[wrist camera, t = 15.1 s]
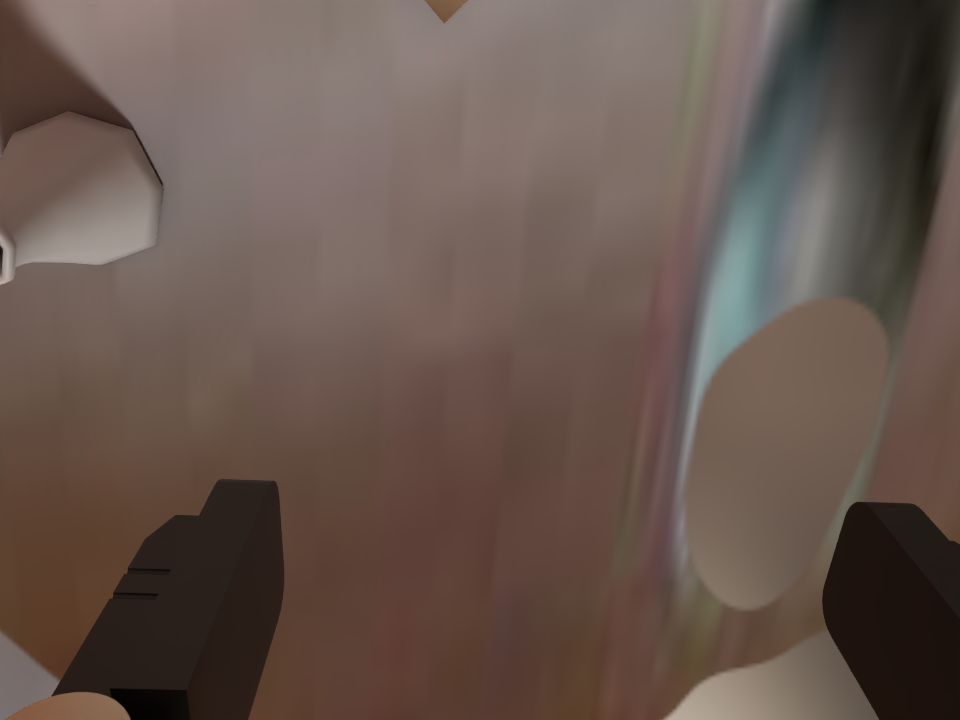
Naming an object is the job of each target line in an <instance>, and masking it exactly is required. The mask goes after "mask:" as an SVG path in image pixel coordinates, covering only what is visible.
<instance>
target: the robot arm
mask: <svg viewBox="0 0 960 720" xmlns="http://www.w3.org/2000/svg"><path fill="white" fill-rule="evenodd" d="M283 590H284V560H283V546H282V531H281V516H280V502H279V491H278V486H277V484H276V482H275V481H261V480H231V479H220V480H218V481H217V483H216V484H215V486H214V488H213V490H212V492H211V493H210V495H209V497H208V499H207V501H206V503H205V505H204V507H203V509H202V511H201V513H200V515H199V516H190V515H175V516H174V517H173V518H171V519H170V520H169V521H167V522H166V523H165V524H164V525H162V526H161V527H160V528H159V529H157V530H156V531H155V532H154V533H152V534H151V535H150V536H149V537H147V538H146V539H145V540H144V542H143V544H142V545H141V547H140V549H139V550H138V552H137V554H136V555H135V557H134V559H133V560H132V562H131V564H130V565H129V567H128V573H127V574H124V575H123V577H122V579H121V580H120V582H119V584H118V586H117V587H116V589H115V591H114V592H113V598H112V599H109V601H108V602H107V604H106V606H105V607H104V609H103V611H102V612H101V614H100V616H99V617H98V619H97V621H96V622H95V624H94V626H93V627H92V629H91V631H90V632H89V634H88V636H87V638H86V639H85V641H84V643H83V644H82V646H81V648H80V649H79V651H78V653H77V654H76V656H75V658H74V659H73V661H72V663H71V664H70V666H69V668H68V669H67V671H66V673H65V674H64V676H63V678H62V679H61V681H60V683H59V684H58V686H57V688H56V690H55V691H54V693H53V695H52V696H51V697H48V698H46V699H43V700H40V701H38V702H35V703H33V704H31V705H29V706H27V707H25V708H23V709H21V710H19V711H18V712H16V713H14V714H13V715H11V716H10V717H8V718H7V719H5V720H248V718H249V715H250V711H251V708H252V705H253V702H254V698H255V695H256V692H257V688H258V685H259V682H260V678H261V675H262V672H263V669H264V665H265V662H266V659H267V655H268V652H269V649H270V645H271V642H272V639H273V635H274V632H275V629H276V626H277V622H278V619H279V615H280V611H281V605H282V599H283ZM822 603H823V614H824V619H825V622H826V626H827V628H828V631H829V633H830V635H831V637H832V639H833V640H834V642H835V644H836V645H837V647H838V649H839V651H840V652H841V654H842V656H843V657H844V659H845V661H846V662H847V664H848V666H849V668H850V669H851V671H852V673H853V675H854V677H855V678H856V680H857V682H858V683H859V685H860V687H861V688H862V690H863V692H864V694H865V695H866V697H867V699H868V701H869V702H870V704H871V706H872V708H873V709H874V711H875V713H876V714H877V716H878V718H879V720H960V545H959V544H958V543H956V542H955V541H949V540H948V539H947V537H946V536H945V535H944V534H943V533H942V532H941V531H940V530H939V529H938V527H937V526H936V525H935V524H934V523H933V522H932V521H931V520H930V519H929V517H928V516H927V515H926V514H925V513H924V512H923V511H922V510H921V509H920V508H919V507H918V506H916V505H914V504H909V503H879V502H856V503H854V504H853V505H851V507H850V508H849V509H848V511H847V513H846V516H845V519H844V522H843V525H842V529H841V532H840V535H839V539H838V542H837V545H836V548H835V552H834V555H833V558H832V562H831V565H830V568H829V571H828V575H827V578H826V581H825V585H824V589H823V598H822Z"/></svg>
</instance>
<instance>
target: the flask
mask: <svg viewBox="0 0 960 720" xmlns="http://www.w3.org/2000/svg"><path fill="white" fill-rule="evenodd" d="M163 191H164V189H163V187H162V185H161V183H160V181H159V180H158V178H157V176H156V174H155V172H154V170H153V168H152V166H151V164H150V162H149V161H148V159H147V157H146V155H145V153H144V151H143V149H142V147H141V145H140V144H139V142H138V140H137V138H136V136H135V134H134V132H133V130H130V129H126V128H123V127H120V126H116V125H113V124H110V123H107V122H103V121H100V120H97V119H93V118H90V117H87V116H83V115H80V114H77V113H73V112H70V111H67V112H64V113H62V114H59V115H57V116H54V117H52V118H49V119H47V120H44V121H42V122H39V123H37V124H34V125H32V126H29V127H27V128H24V129H21V130H19V131H16V132H14V133H13V134H12V136H11V138H10V140H9V141H8V144H7V146H6V148H5V151H4V153H3V155H2V158H1V160H0V285H1V284H4V283H7V282H9V281H11V280H13V278H14V277H15V268H16V267H18V266H20V265H22V264H26V263H30V262H69V263H81V264H95V265H104V264H107V263H110V262H112V261H115V260H118V259H120V258H123V257H126V256H129V255H131V254H134V253H137V252H139V251H142V250H145V249H148V248H150V247H153V246H156V239H157V232H158V225H159V218H160V211H161V204H162V197H163Z"/></svg>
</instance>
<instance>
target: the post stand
mask: <svg viewBox="0 0 960 720" xmlns="http://www.w3.org/2000/svg"><path fill="white" fill-rule="evenodd" d="M425 1H426V2H427V4H428V5H429V6H430V7H431V8H432V9H433V11H434V12H435V13H436V14H437V15H438V17H439V18H440V19H441V20H442V21H443V22H444V23H445V22H446V21H447V20H448V19H449V18H450V17H451V16H452V15H453V14H454V13H455V12H456V11H457V10H458V9H459V8H460V7H461V6H462V5H463V4H464V3H465V2H466V1H467V0H425Z"/></svg>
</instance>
